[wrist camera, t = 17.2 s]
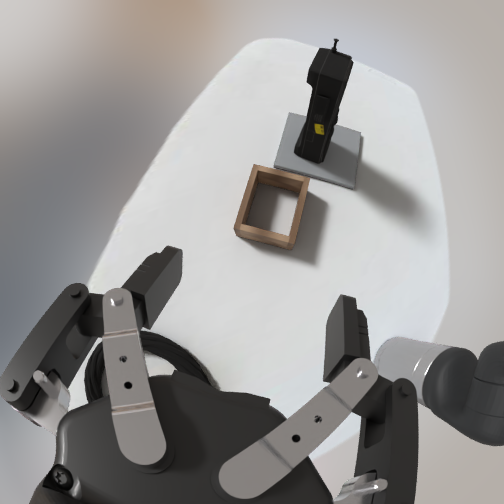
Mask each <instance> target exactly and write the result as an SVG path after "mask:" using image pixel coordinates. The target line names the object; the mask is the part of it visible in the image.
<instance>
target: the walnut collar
mask: <svg viewBox="0 0 504 504" xmlns="http://www.w3.org/2000/svg"><path fill="white" fill-rule="evenodd" d="M309 181H310V178H308V177H304V176H300V175H296V174H292V173H289V172H285V171H281V170H277V169H272V168H268V167H264V166H260V165H255V164H254V165H253V168H252V171H251V174H250V177H249V180H248V183H247V187H246V190H245V193H244V196H243V199H242V202H241V206H240V209H239V212H238V215H237V218H236V222H235V225H234V231H235V233H236V236H239V237H243V238H247V239H251V240H255V241H258V242H262V243H266V244H270V245H273V246H277V247H281V248H284V249H288V250H292V248H293V246H294V244H295V240H296V236H297V232H298V228H299V224H300V220H301V216H302V211H303V207H304V203H305V198H306V194H307V190H308V185H309ZM258 183H262V184H266V185H270V186H274V187H278V188H282V189H286V190H290V191H294V192H298V193H300V194H299V198H298V202H297V206H296V210H295V214H294V218H293V222H292V226H291V230H290V234H289V236H286V235H282V234H279V233H275V232H271V231H267V230H263V229H260V228H256V227H252V226H248V225H246V221H247V218H248V215H249V211H250V208H251V205H252V201H253V198H254V195H255V191H256V188H257V185H258Z"/></svg>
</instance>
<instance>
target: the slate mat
mask: <svg viewBox="0 0 504 504" xmlns="http://www.w3.org/2000/svg"><path fill="white" fill-rule="evenodd" d="M306 118H307V116H303V115H298V114H294V113H290V112H289V114H288V118H287V121H286V125H285V128H284V132H283V135H282V138H281V142H280V145H279V149H278V152H277V156H276V159H275V163H274V167H275V168H279V169H283V170H287V171H291V172H295V173H299V174H302V175H306V176H310V177H313V178H317V179H320V180H324V181H327V182H331V183H334V184H337V185H341V186H344V187H347V188H350V189H353V188H354V186H355V179H356V171H357V163H358V155H359V145H360V135H361V132H358V131H355V130H352V129H349V128H346V127H342V126H339V125H335V126H334V129H335V130H334V133H333V136H332V137H331V141H330V145H329V148H328V151H327V154H326V156H325V159H324V162H321V163H320V164H317V163H314V162H312V161H309V160H306V159H304V158H301V157H299V156H297V155H296V154H295V153H294V148H295V144H296V142H297V140H298V137H299V135H300V133H301V130H302V128H303V125H304V123H305V122H306Z"/></svg>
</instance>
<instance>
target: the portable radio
mask: <svg viewBox="0 0 504 504" xmlns="http://www.w3.org/2000/svg"><path fill="white" fill-rule="evenodd" d="M334 41H335V43H334V47H333V48H332V49H325V48H319V50H318V52H317V54H316V56H315V58H314V60H313V62H312V64H311V66H310V68H309V71H308V77H307V83H308V84H310V85H311V86H312V88H313V89H312V94H311V99H310V103H309V108H308V113H307V118H306V122H305V123H304V125H303V128H302V130H301V133H300V135H299V137H298V140H297V142H296V144H295V148H294V153H295V154H296V155H297V156H299V157H301V158H304V159H306V160H309V161H312V162H314V163H317V164H320V163H321V162H324V159H325V156H326V154H327V151H328V148H329V145H330V141H331V137H332V136H333V133H334V130H335V129H334V126H335V125H336V123H337V121H338V113H339V106H340V103H341V100H342V97H343V94H344V91H345V88H346V85H347V82H348V79H349V76H350V73H351V69H352V66H353V61H352V60H351V59H352V57H351V56H349V55H346V54H343V53H340V52H337V51H336V50H337V49H336V44H337V42H338V41H339V40H338V39H334Z"/></svg>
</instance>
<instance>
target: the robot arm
mask: <svg viewBox="0 0 504 504" xmlns="http://www.w3.org/2000/svg"><path fill="white" fill-rule="evenodd" d="M182 255H183V253H182V250H181V249H178V248H175V247H172V246H166V247H165V249H164V250H163V251H162V252H161V253H157V252H156V253H154V254H152V255H150V256H148V257H147V258H146V259H145V260H144V261H143V262H142V265H140V266H139V267H138V268H137V270H136V271H135V272H134V273H133V274H132V275H131V276H130V278H129V279H128V280H127V281H126V282H125V283H124V285H123V286H122V287H121V288H114V289H111V290H109V291H108V292H106V293H105V295H103V294H94V293H89V291H88V288H87V287H86V286H85V285H84V284H81V283H75V284H71V285H69V286H68V287H66V288H65V289H64V291H63V292H62V293H61V294H60V295H59V297H58V298H57V299H56V300H55V302H54V303H53V304H52V305H51V306H50V308H49V309H48V310H47V311H46V313H45V314H44V315H43V317H42V318H41V319H40V320H39V322H38V323H37V325H36V326H35V327H34V328H33V330H32V331H31V333H30V334H29V335H28V336H27V338H26V339H25V341H24V342H23V344H22V345H21V347H20V348H19V349H18V351H17V352H16V354H15V355H14V357H13V358H12V360H11V361H10V363H9V364H8V366H7V368H6V369H5V371H4V372H3V374H2V376H1V377H0V395H1V396H2V398H3V399H4V400H6V401H7V402H8V403H9V404H10V405H11V406H12V407H13V408H14V409H15V410H16V411H17V412H19V413H20V414H21V415H22V416H24V417H25V418H26V419H28V420H30V421H31V422H33V423H34V424H36V425H37V426H41V427H44V428H45V429H47V430H48V431H49V432H51V433H52V434H54V435H55V436H56V457H55V461H54V464H53V467H52V468H51V470H50V471H49V473H48V474H47V475H46V477H44V479H43V480H42V481H41V482H40V483H39V485H38V486H37V488H36V489H35V491H34V494H33V496H32V498H31V500H30V503H29V504H414V500H415V492H416V482H417V469H418V468H417V467H418V403H420V404H422V405H424V406H425V407H427V408H429V409H431V411H432V412H433V413H434V414H435V415H436V416H437V417H439V418H441V419H442V420H444V421H445V422H447V423H448V424H449V425H451V426H452V427H454V428H455V429H457V430H458V431H459V432H461V433H462V434H464V435H465V436H467V437H469V438H470V439H473V440H475V441H477V442H479V443H482V444H486V445H491V446H503V445H504V341H503V342H497V343H492V344H490V345H488V346H487V347H486V348H484V350H483V351H482V352H481V354H480V356H479V359H478V360H477V358H476V356H475V355H474V354H473V353H472V352H471V351H470V350H467V349H464V348H458V347H452V346H446V345H439V344H434V343H429V342H423V341H418V340H413V339H408V338H403V337H395V338H391V339H389V340H388V341H386V342H385V343H384V344H383V345H382V346H381V347H380V348H379V350H378V352H377V354H376V357H375V361H374V363H372V362H371V359H370V346H369V336H368V329H367V328H368V326H367V318H366V317H365V315H364V313H363V311H362V310H358V309H357V304H356V298H353V297H350V296H346V295H342V294H341V295H340V296H339V298H338V300H337V302H336V304H335V305H334V307H333V309H332V311H331V313H330V315H329V317H328V320H327V324H326V342H325V360H324V375H323V381H324V382H329V383H330V384H329V385H328V386H327V387H325V388H323V389H322V390H321V391H320V392H319V393H318V394H317V395H315V396H314V397H313V398H312V399H311V400H310V401H309V402H307V403H306V404H305V405H304V406H303V407H302V408H300V409H299V410H298V411H297V412H296V413H294V414H293V415H292V416H291V417H289V418H288V419H287V418H286V417H285V416H284V415H283V414H282V413H281V412H279V411H278V410H277V409H275V408H274V407H272V406H270V405H269V403H270V399H269V398H265V397H261V396H257V395H253V394H249V393H239V392H223V391H219V390H217V389H215V388H213V387H212V386H210V385H208V384H207V383H205V382H203V381H202V380H200V379H199V378H197V377H194V376H191V375H188V374H185V373H183V372H180V371H177V370H174V372H173V374H172V375H156V376H151V377H149V373H148V370H147V366H146V362H145V357H144V353H143V348H142V343H141V338H140V333H139V332H140V330H141V329H142V327H144V328H147V329H149V330H150V329H151V327H152V326H153V324H154V322H155V321H156V319H157V318H158V316H159V314H160V313H161V311H162V310H163V308H164V307H165V305H166V303H167V302H168V300H169V299H170V297H171V296H172V294H173V293H174V291H175V289H176V288H177V286H178V285H179V283H180V280H181V277H182ZM98 337H101V338H102V341H103V351H104V360H105V368H106V375H107V382H108V388H109V394H110V395H107V396H105V397H103V398H100V399H98V400H95V401H93V402H90V403H88V404H85V405H83V406H80V407H78V408H75V409H73V410H71V411H69V412H68V407H69V402H70V392H69V390H68V388H69V386H70V384H71V382H72V380H73V379H74V377H75V375H76V373H77V372H78V370H79V368H80V366H81V365H82V363H83V361H84V360H85V358H86V356H87V355H88V353H89V351H90V350H91V348H92V346H93V345H94V343H95V342H96V340H97V338H98ZM417 402H418V403H417ZM351 412H353V413H355V414H357V415H359V416H361V427H360V437H359V445H358V453H357V461H356V467H355V473H354V478H351V479H349V480H348V481H347V482H345V483H344V485H343V486H342V489H341V491H340V493H339V495H338V496H337V497H336V498H335V499H334V500H333V498H332V495H331V493H330V492H329V490H328V488H327V486H326V485H325V483H324V482H323V480H322V478H321V477H320V475H319V473H318V471H317V470H316V468H315V466H314V465H313V463H312V461H311V460H310V458H309V456H308V455H309V454H310V453H311V452H312V451H313V450H314V449H316V448H317V447H318V446H319V445H320V444H321V443H322V442H323V441H324V440H325V439H326V438H327V437H328V436H329V435H330V434H331V433H332V432H333V431H334V430H335V429H336V428H337V427H338V426H339V425H340V424H341V423H342V422H343V421H344V420H345V419H346V418H347V416H348V415H349V414H350V413H351Z"/></svg>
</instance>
